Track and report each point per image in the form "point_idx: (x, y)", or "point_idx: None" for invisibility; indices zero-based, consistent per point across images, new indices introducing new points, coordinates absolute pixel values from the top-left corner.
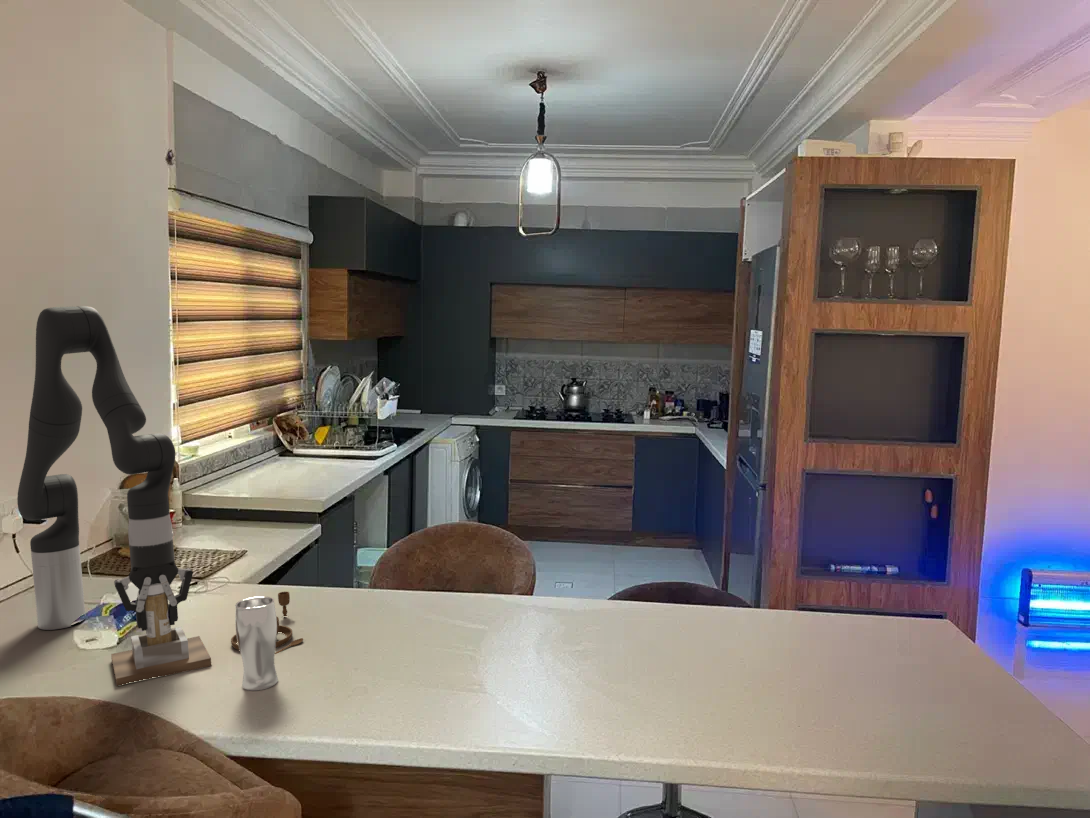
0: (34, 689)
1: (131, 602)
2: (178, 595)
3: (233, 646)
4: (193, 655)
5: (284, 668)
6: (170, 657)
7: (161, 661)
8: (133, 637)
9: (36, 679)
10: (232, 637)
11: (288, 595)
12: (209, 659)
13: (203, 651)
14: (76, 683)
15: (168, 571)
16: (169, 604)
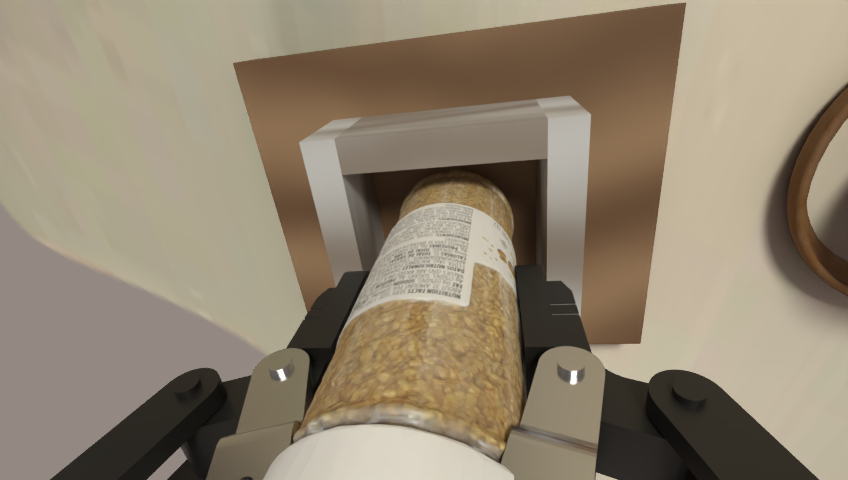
0: (69, 215)
1: (214, 431)
2: (638, 466)
3: (788, 202)
4: (585, 284)
5: (832, 458)
6: None
7: None
8: (316, 168)
9: (21, 118)
10: (842, 114)
11: None
12: (632, 341)
13: (635, 261)
14: (189, 235)
15: None
16: (535, 370)
